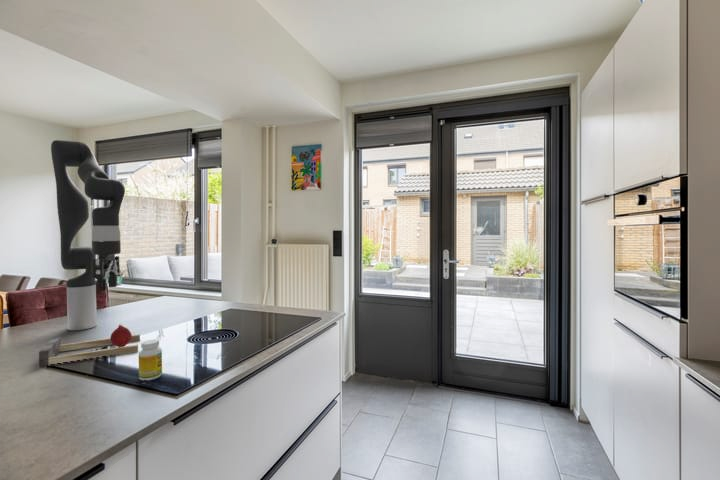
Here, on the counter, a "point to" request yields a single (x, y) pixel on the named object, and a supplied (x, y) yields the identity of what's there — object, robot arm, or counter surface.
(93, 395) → the counter surface
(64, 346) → the guide rails
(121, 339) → the onion
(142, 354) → the supplement bottle
